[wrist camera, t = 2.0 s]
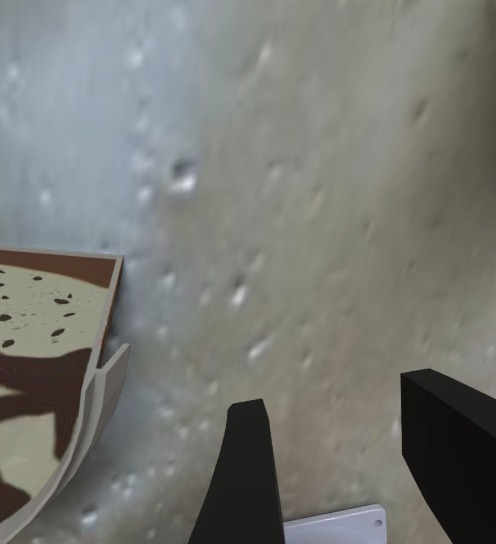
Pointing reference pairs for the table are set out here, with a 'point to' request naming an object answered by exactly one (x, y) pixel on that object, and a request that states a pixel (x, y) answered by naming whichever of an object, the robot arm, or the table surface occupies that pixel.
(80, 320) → the food container
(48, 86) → the table surface
